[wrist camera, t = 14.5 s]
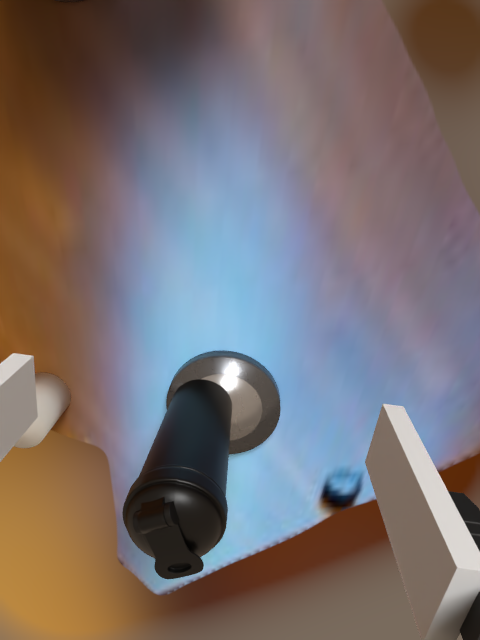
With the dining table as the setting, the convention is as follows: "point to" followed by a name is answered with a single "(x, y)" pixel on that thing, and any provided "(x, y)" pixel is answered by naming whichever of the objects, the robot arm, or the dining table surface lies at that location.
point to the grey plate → (237, 394)
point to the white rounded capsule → (46, 408)
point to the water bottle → (184, 482)
